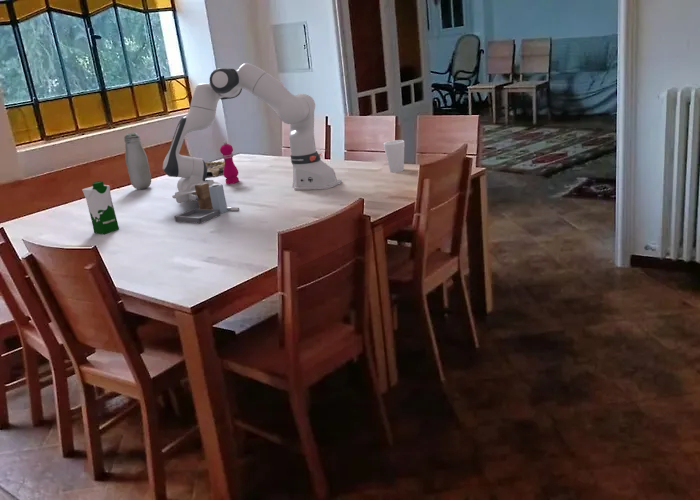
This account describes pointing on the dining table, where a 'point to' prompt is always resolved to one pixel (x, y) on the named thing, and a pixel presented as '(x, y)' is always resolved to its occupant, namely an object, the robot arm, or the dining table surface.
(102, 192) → the milk carton
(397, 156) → the foam cup
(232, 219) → the dining table surface
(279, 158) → the dining table surface
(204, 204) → the walnut block
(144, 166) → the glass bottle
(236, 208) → the pin gauge
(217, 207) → the greyblue block
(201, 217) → the tray
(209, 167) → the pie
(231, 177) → the pepper mill
